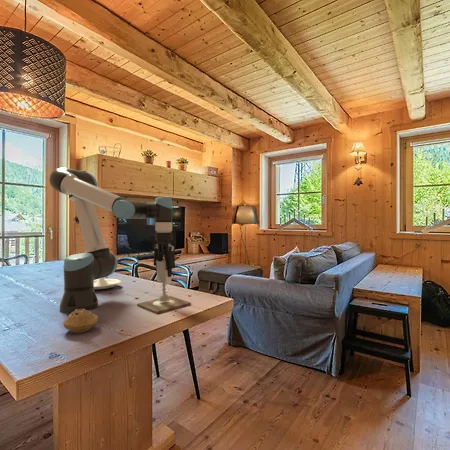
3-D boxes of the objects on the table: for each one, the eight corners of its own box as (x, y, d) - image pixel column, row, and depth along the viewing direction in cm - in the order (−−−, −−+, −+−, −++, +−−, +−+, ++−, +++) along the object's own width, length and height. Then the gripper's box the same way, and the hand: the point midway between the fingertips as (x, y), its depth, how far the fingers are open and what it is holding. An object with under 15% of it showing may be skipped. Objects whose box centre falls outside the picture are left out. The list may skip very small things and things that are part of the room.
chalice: (155, 302, 127) (155, 261, 126) (155, 298, 133) (155, 259, 133) (172, 301, 129) (172, 261, 128) (171, 297, 135) (171, 259, 135)
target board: (157, 314, 119) (157, 311, 119) (137, 305, 130) (137, 303, 130) (190, 304, 132) (190, 302, 132) (170, 297, 143) (170, 295, 143)
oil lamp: (89, 320, 112) (89, 299, 112) (103, 331, 101) (102, 308, 101) (57, 327, 105) (57, 305, 105) (68, 340, 94) (68, 315, 94)
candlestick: (68, 289, 161) (67, 238, 160) (112, 282, 178) (111, 237, 177) (80, 296, 146) (79, 241, 145) (127, 288, 163) (126, 238, 162)
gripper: (183, 232, 126) (183, 284, 127) (159, 230, 140) (159, 278, 140) (169, 232, 121) (169, 287, 122) (145, 231, 134) (145, 280, 135)
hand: (164, 282), depth 131 cm, fingers closed on chalice, 6 cm apart
